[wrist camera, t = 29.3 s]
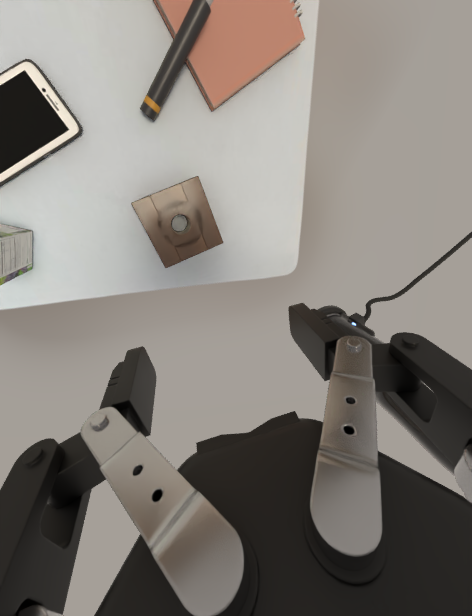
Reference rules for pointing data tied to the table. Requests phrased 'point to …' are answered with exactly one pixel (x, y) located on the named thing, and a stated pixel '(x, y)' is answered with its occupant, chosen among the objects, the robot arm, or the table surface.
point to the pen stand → (162, 210)
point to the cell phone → (31, 119)
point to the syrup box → (14, 252)
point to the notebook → (236, 41)
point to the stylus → (176, 56)
